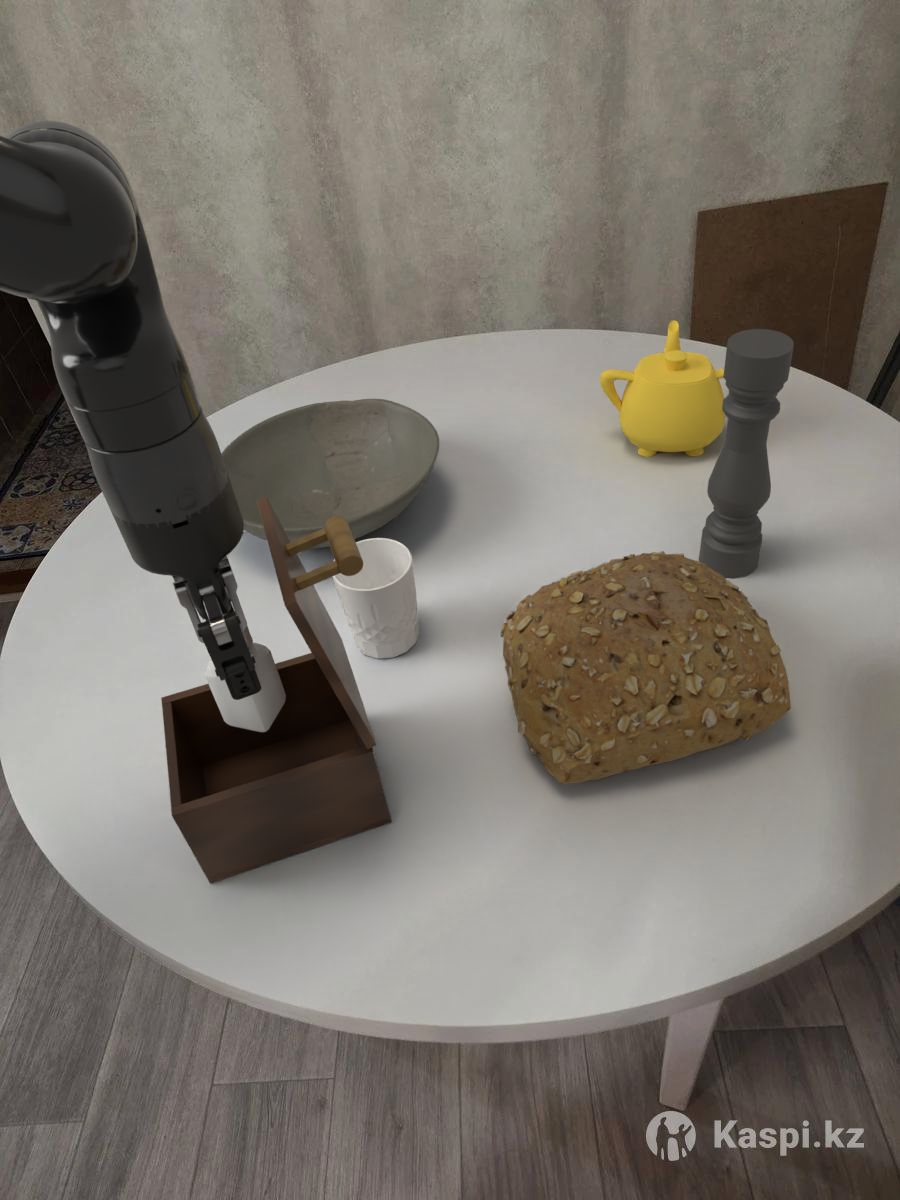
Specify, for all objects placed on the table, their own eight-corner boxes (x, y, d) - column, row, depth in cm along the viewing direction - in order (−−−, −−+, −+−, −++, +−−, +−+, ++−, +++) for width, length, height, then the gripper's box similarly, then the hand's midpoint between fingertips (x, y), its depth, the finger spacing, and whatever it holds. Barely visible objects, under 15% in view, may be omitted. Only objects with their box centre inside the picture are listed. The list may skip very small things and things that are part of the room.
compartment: (209, 883, 71) (171, 815, 64) (195, 767, 80) (161, 697, 73) (392, 822, 73) (373, 751, 67) (358, 716, 82) (338, 644, 76)
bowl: (484, 469, 111) (479, 413, 105) (373, 609, 93) (360, 550, 88) (310, 435, 122) (297, 382, 116) (181, 554, 104) (158, 499, 99)
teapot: (751, 434, 110) (764, 348, 103) (675, 481, 105) (683, 394, 97) (667, 397, 119) (673, 315, 111) (593, 439, 113) (594, 356, 105)
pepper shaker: (247, 690, 71) (214, 605, 65) (290, 698, 70) (261, 613, 64) (223, 727, 68) (186, 642, 62) (267, 737, 67) (235, 651, 61)
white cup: (437, 619, 91) (425, 546, 84) (403, 671, 86) (388, 598, 79) (372, 603, 94) (356, 531, 87) (336, 653, 89) (315, 580, 82)
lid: (284, 605, 55) (365, 571, 55) (256, 500, 64) (326, 471, 65) (367, 749, 66) (434, 720, 67) (333, 642, 76) (392, 617, 76)
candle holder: (722, 534, 97) (752, 321, 80) (770, 558, 93) (812, 340, 76) (686, 560, 94) (709, 345, 77) (734, 586, 90) (768, 367, 73)
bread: (696, 587, 91) (707, 493, 83) (810, 739, 75) (838, 642, 67) (474, 646, 88) (463, 555, 80) (545, 818, 72) (541, 726, 64)
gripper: (95, 447, 59) (175, 626, 70) (120, 567, 48) (208, 754, 60) (204, 416, 60) (264, 596, 72) (250, 525, 50) (311, 715, 61)
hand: (238, 667), depth 66 cm, fingers closed on pepper shaker, 5 cm apart
